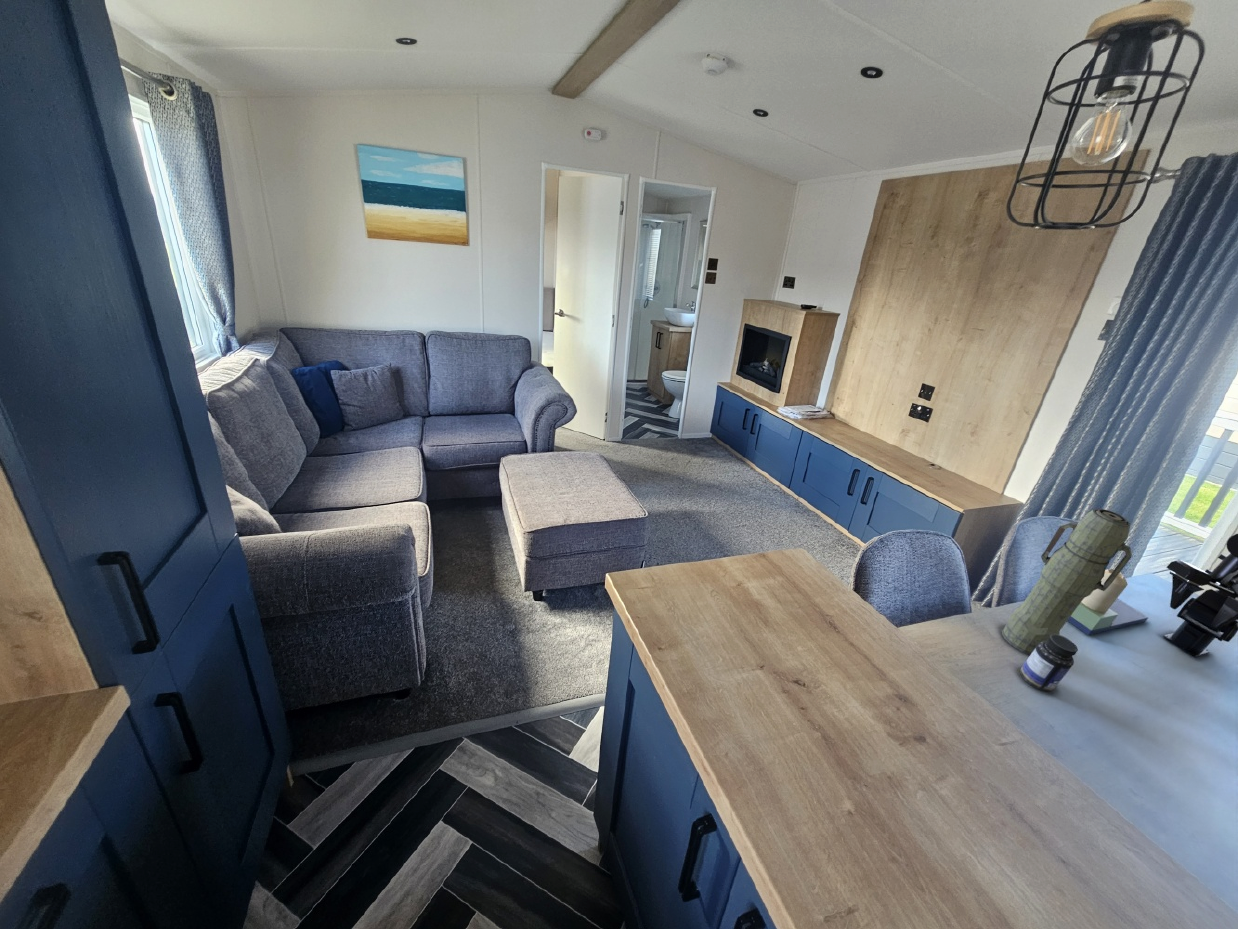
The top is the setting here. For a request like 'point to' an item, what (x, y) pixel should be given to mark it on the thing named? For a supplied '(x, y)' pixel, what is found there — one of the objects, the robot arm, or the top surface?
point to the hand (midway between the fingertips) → (1193, 617)
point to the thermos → (1069, 577)
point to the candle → (1106, 593)
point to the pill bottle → (1049, 662)
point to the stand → (1105, 617)
